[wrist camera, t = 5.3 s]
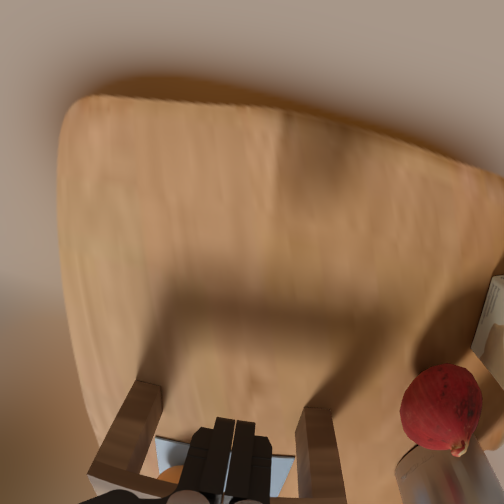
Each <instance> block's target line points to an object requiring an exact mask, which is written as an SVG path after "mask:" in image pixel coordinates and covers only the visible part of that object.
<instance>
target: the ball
mask: <svg viewBox="0 0 504 504" xmlns="http://www.w3.org/2000/svg"><path fill="white" fill-rule="evenodd" d="M183 466H184V465H178V466H173V467H170V468H168V469H166V470H165V471H163V472H162V473H161V474H160V475H159V477H158V478H157V479H159V480H163V481H167V482H171V483H176V484H178V483H179V479H180V476H181V473H182V469H183Z"/></svg>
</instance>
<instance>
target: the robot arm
mask: <svg viewBox="0 0 504 504" xmlns="http://www.w3.org/2000/svg"><path fill="white" fill-rule="evenodd" d="M234 425H235V420H233V419H227V418H221V417H217V418H216V421H215V426H214V429H209V428H204V427H201V428H200V429H199V430H198V431H197V432H196V433H195V434H194V435H193V436H192V440H191V443H190V447H189V450H188V453H187V456H186V459H185V463H184V466H183V469H182V473H181V476H180V479H179V483H178V486H177V488H176V489H175V491H174V492H173V493H171V494H170V495H168V496H166V497H163V498H157V499H143V498H139V497H138V496H137V495H135V494H134V493H132V492H130V491H127V490H123V489H116V490H112V491H109V492H107V493H104V494H102V495H99V496H97V497H95V498H92V499H90V500H87V501H84V502H82V503H79V504H221V503H222V497H223V492H224V486H225V480H226V475H227V469H228V463H229V457H230V452H231V445H232V439H233V432H234ZM254 434H255V422H247V421H240V420H237V423H236V429H235V435H234V441H233V447H232V453H231V458H230V464H229V470H228V476H227V482H226V488H225V493H224V500H223V504H270V486H271V465H272V446H271V444H270V442H269V440H268V437H263V436H255V435H254ZM395 477H396V480H397V484H398V487H399V490H400V494H401V498H402V501H403V504H504V491H503V489H502V487H501V485H500V482H499V480H498V478H497V476H496V474H495V473H494V471H493V469H492V467H491V465H490V463H489V461H488V459H487V457H486V455H485V453H484V451H483V450H482V448H481V446H480V444H479V442H478V441H477V439H476V437H475V435H474V433H473V434H472V435H471V438H470V441H469V446H468V448H467V451H466V452H465V453H464V454H463V455H461V456H460V457H456V456H453V455H452V454H451V450H450V449H448V450H430V449H426V448H424V447H422V446H420V445H419V446H417V447H416V448H415V449H413V450H412V451H411V452H409V453H408V454H407V455H406V456H405V457H404V458H403V459H402V460H401V461H400V463H399V464H398V465H397V468H396V470H395Z"/></svg>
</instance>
